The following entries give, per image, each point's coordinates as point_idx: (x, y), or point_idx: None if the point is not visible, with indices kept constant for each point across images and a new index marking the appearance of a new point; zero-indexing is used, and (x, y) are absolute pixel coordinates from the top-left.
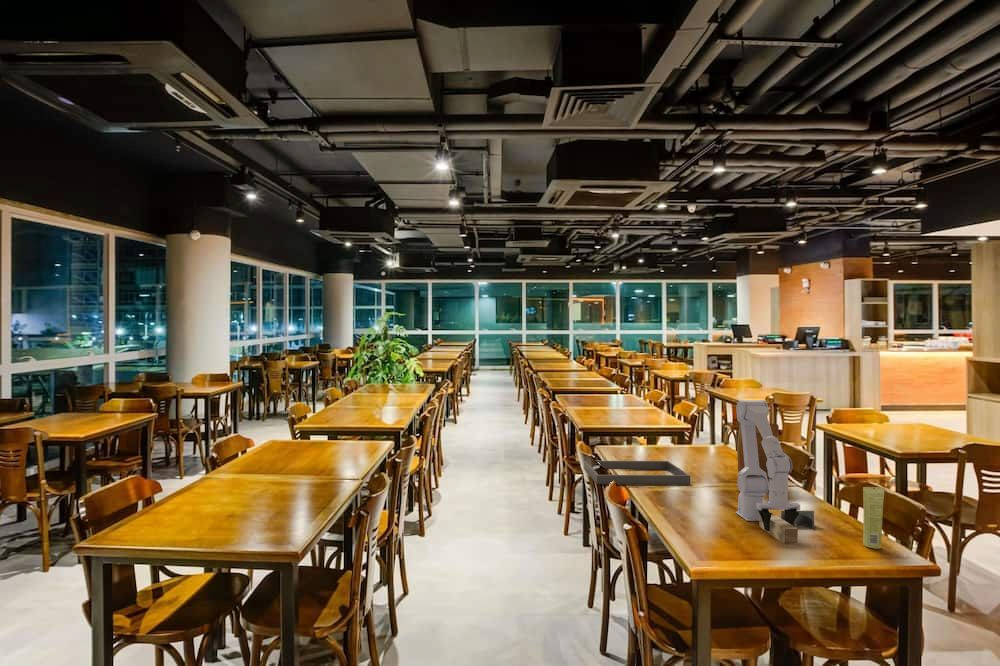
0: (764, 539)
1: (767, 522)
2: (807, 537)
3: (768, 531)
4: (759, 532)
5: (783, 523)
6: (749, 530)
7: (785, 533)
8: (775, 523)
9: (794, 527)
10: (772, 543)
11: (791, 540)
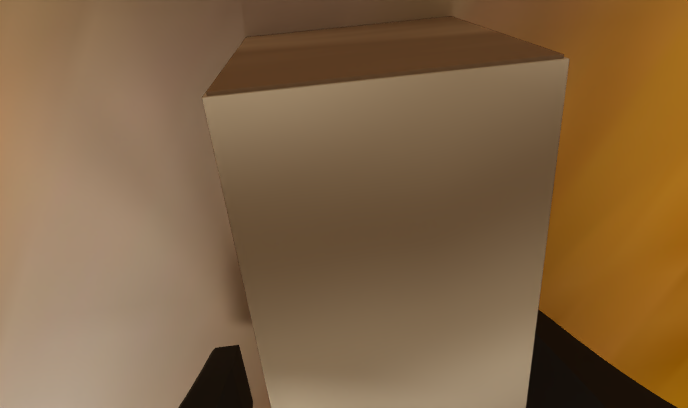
0: (634, 152)
1: (639, 391)
2: (18, 280)
3: None
4: None
5: (390, 370)
6: None
7: (498, 37)
8: (524, 369)
9: (258, 170)
10: (629, 6)
11: (345, 34)
